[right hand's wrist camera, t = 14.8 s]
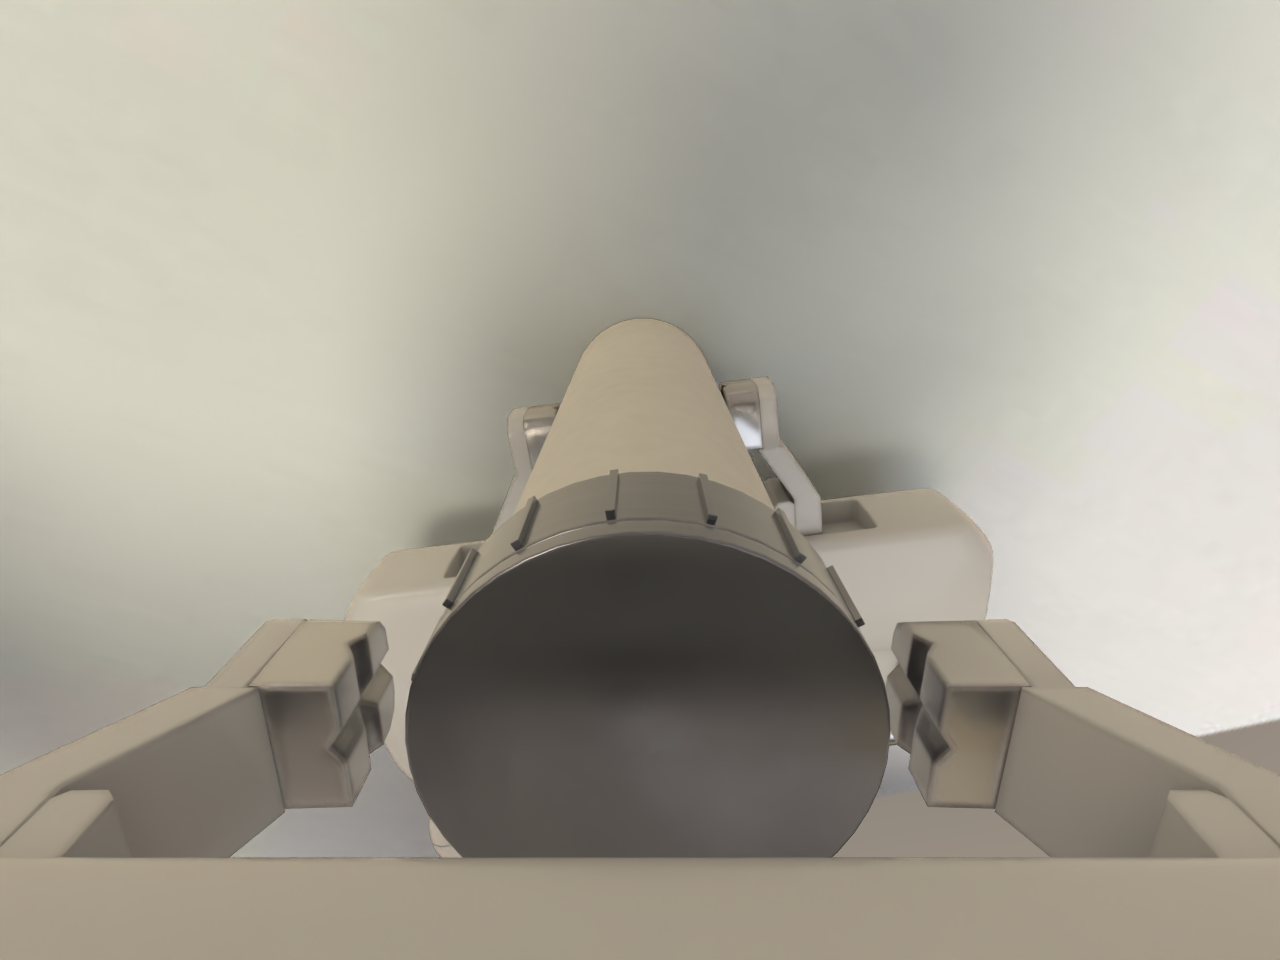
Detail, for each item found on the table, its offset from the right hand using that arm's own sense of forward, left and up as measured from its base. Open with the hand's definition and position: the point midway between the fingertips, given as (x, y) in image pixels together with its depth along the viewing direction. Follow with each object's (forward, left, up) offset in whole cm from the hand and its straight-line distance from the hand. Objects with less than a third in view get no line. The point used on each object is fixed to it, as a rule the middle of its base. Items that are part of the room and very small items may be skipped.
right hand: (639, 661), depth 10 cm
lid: (0, 0, +2) cm, 2 cm away
